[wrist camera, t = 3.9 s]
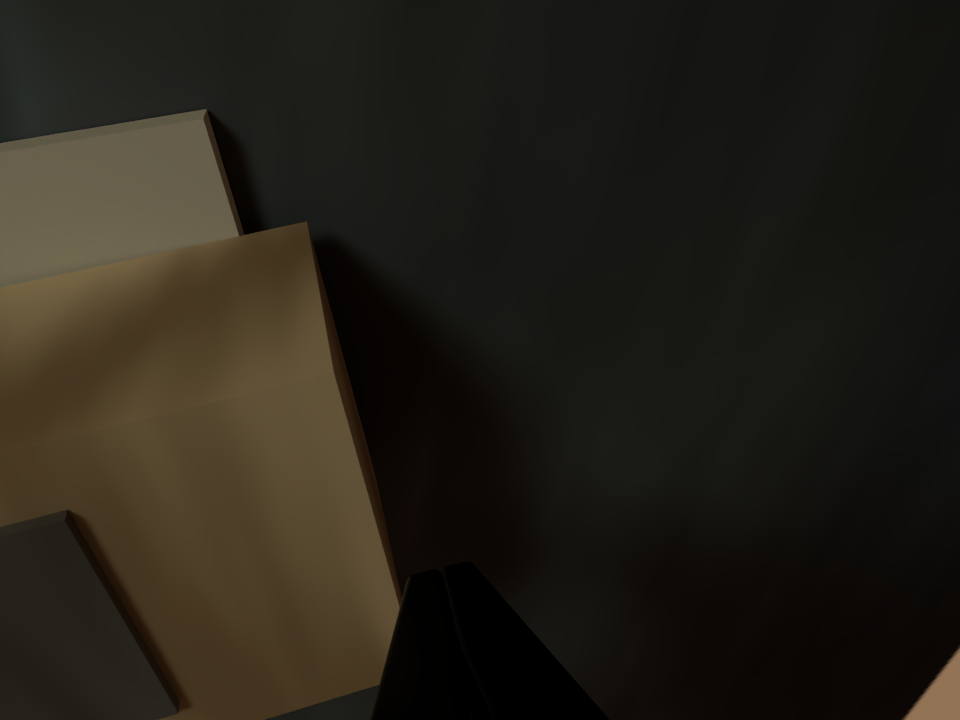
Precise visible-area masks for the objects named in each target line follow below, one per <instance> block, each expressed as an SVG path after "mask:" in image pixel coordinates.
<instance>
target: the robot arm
mask: <svg viewBox="0 0 960 720" xmlns="http://www.w3.org/2000/svg"><path fill="white" fill-rule="evenodd" d="M441 577H442V578H441ZM469 708H470V709H469ZM470 713H471V714H470ZM471 717H472V719H471ZM370 720H609V719H608V718H607V716H606V715H605V714H604V713H603V712H602V711H601V710H600V708H599V707H598V706H597V705H596V704H595V703H594V701H593V700H592V699H591V698H590V697H589V696H588V695H587V693H586V692H585V691H584V690H583V689H582V688H581V687H580V685H579V684H578V683H577V682H576V681H575V680H574V679H573V677H572V676H571V675H570V674H569V673H568V672H567V671H566V669H565V668H564V667H563V666H562V665H561V664H560V663H559V661H558V660H557V659H556V658H555V657H554V656H553V655H552V653H551V652H550V651H549V650H548V649H547V648H546V647H545V645H544V644H543V643H542V642H541V641H540V640H539V638H538V637H537V636H536V635H535V634H534V633H533V632H532V630H531V629H530V628H529V627H528V626H527V625H526V624H525V622H524V621H523V620H522V619H521V618H520V617H519V616H518V614H517V613H516V612H515V611H514V610H513V609H512V608H511V606H510V605H509V604H508V603H507V602H506V601H505V600H504V598H503V597H502V596H501V595H500V594H499V593H498V592H497V590H496V589H495V588H494V587H493V586H492V585H491V584H490V582H489V581H488V580H487V579H486V578H485V577H484V576H483V574H482V573H481V572H480V571H479V570H478V569H477V567H476V566H475V565H474V564H472V563H471V562H462V563H458V564H454V565H450V566H446V567H444V568H443V569H442V570H441V574H440V572H439V571H438V570H436V569H433V570H429V571H425V572H421V573H417V574H413V575H411V576H410V577H409V578H408V580H407V582H406V586H405V590H404V593H403V597H402V601H401V605H400V609H399V612H398V616H397V620H396V624H395V627H394V631H393V635H392V639H391V643H390V646H389V650H388V654H387V658H386V662H385V665H384V669H383V673H382V677H381V680H380V684H379V688H378V692H377V696H376V699H375V703H374V707H373V711H372V714H371V718H370Z"/></svg>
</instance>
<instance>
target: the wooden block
mask: <svg viewBox="0 0 960 720" xmlns="http://www.w3.org/2000/svg"><path fill="white" fill-rule="evenodd" d="M401 601H402V596H401V592H400V587H399V582H398V578H397V573H396V569H395V564H394V559H393V555H392V550H391V546H390V541H389V536H388V532H387V527H386V522H385V518H384V513H383V509H382V504H381V499H380V495H379V490H378V486H377V481H376V477H375V473H374V469H373V465H372V462H371V458H370V454H369V451H368V447H367V443H366V439H365V436H364V432H363V428H362V425H361V421H360V417H359V413H358V410H357V406H356V402H355V398H354V395H353V391H352V387H351V384H350V380H349V376H348V372H347V369H346V365H345V361H344V358H343V354H342V350H341V346H340V343H339V339H338V335H337V331H336V328H335V324H334V320H333V317H332V313H331V309H330V305H329V302H328V298H327V294H326V291H325V287H324V283H323V279H322V276H321V272H320V268H319V264H318V261H317V257H316V253H315V250H314V246H313V242H312V238H311V235H310V231H309V227H308V224H307V222H302V223H298V224H293V225H288V226H284V227H279V228H274V229H270V230H265V231H261V232H256V233H251V234H247V235H242V236H238V237H233V238H228V239H224V240H219V241H214V242H210V243H205V244H201V245H196V246H191V247H187V248H182V249H177V250H173V251H168V252H164V253H159V254H154V255H150V256H145V257H140V258H136V259H131V260H127V261H122V262H117V263H113V264H108V265H103V266H99V267H94V268H90V269H85V270H80V271H76V272H71V273H66V274H62V275H57V276H53V277H48V278H43V279H39V280H34V281H29V282H25V283H20V284H16V285H11V286H6V287H2V288H0V720H265V719H268V718H271V717H274V716H278V715H281V714H284V713H288V712H291V711H294V710H297V709H301V708H304V707H307V706H311V705H314V704H317V703H320V702H324V701H327V700H330V699H333V698H337V697H340V696H343V695H347V694H350V693H353V692H356V691H360V690H363V689H366V688H369V687H373V686H376V685H379V684H380V680H381V677H382V673H383V669H384V665H385V662H386V658H387V654H388V650H389V646H390V643H391V639H392V635H393V631H394V627H395V624H396V620H397V616H398V612H399V609H400V605H401Z"/></svg>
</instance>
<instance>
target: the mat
mask: <svg viewBox="0 0 960 720" xmlns="http://www.w3.org/2000/svg"><path fill="white" fill-rule="evenodd" d="M242 235H244V232H243V229H242V225H241V222H240V219H239V215H238V212H237V209H236V205H235V202H234V199H233V195H232V192H231V189H230V185H229V182H228V179H227V175H226V172H225V169H224V165H223V162H222V159H221V156H220V152H219V149H218V146H217V142H216V139H215V136H214V132H213V129H212V126H211V122H210V119H209V116H208V112H207V109H204V110H198V111H192V112H186V113H180V114H174V115H168V116H162V117H156V118H150V119H144V120H138V121H132V122H126V123H120V124H114V125H108V126H102V127H95V128H89V129H83V130H77V131H71V132H65V133H59V134H53V135H47V136H41V137H35V138H29V139H23V140H17V141H11V142H5V143H0V288H2V287H6V286H11V285H16V284H20V283H25V282H29V281H34V280H39V279H43V278H48V277H53V276H57V275H62V274H66V273H71V272H76V271H80V270H85V269H90V268H94V267H99V266H103V265H108V264H113V263H117V262H122V261H127V260H131V259H136V258H140V257H145V256H150V255H154V254H159V253H164V252H168V251H173V250H177V249H182V248H187V247H191V246H196V245H201V244H205V243H210V242H214V241H219V240H224V239H228V238H233V237H238V236H242Z"/></svg>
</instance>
